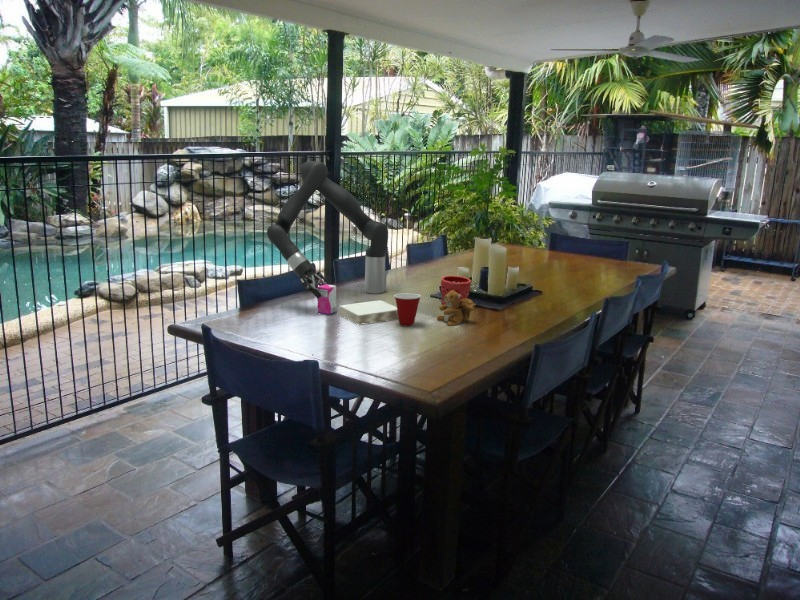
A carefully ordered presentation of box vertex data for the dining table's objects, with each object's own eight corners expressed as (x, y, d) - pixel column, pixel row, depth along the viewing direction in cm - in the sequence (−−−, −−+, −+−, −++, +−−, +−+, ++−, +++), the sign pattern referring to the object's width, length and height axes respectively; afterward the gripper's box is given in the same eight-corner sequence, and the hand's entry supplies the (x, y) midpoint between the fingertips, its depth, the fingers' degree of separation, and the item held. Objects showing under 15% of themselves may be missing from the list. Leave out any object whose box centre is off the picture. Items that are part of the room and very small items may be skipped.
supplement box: (325, 310, 276) (325, 283, 273) (336, 312, 273) (337, 285, 270) (316, 313, 271) (317, 286, 268) (328, 315, 268) (328, 288, 265)
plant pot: (436, 306, 288) (438, 280, 285) (443, 299, 300) (445, 274, 297) (465, 310, 285) (467, 283, 282) (471, 303, 297) (473, 277, 294)
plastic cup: (413, 319, 268) (415, 290, 265) (424, 326, 258) (425, 297, 255) (388, 321, 264) (389, 292, 261) (398, 328, 254) (399, 298, 251)
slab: (380, 309, 281) (380, 300, 280) (400, 318, 268) (401, 309, 267) (338, 314, 270) (339, 305, 269) (358, 325, 257) (358, 315, 256)
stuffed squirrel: (434, 319, 268) (436, 288, 265) (465, 317, 273) (467, 286, 270) (445, 326, 259) (446, 294, 256) (476, 324, 264) (478, 292, 261)
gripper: (297, 262, 264) (322, 293, 263) (314, 256, 277) (338, 286, 275) (285, 273, 267) (310, 304, 266) (303, 267, 280) (327, 296, 279)
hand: (324, 295), depth 271 cm, fingers open, 8 cm apart
